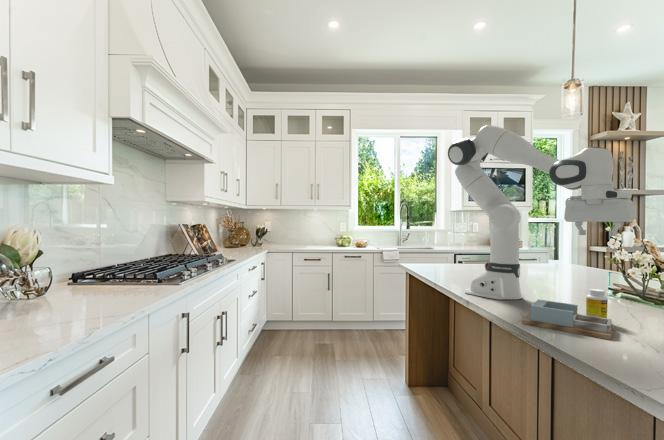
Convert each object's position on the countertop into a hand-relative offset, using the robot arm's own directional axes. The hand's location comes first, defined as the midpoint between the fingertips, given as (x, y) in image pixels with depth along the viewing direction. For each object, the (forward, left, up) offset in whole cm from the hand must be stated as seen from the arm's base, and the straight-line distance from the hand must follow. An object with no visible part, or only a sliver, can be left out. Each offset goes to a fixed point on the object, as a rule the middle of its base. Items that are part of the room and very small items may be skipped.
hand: (597, 235), depth 122 cm
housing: (-9, -19, -26) cm, 34 cm away
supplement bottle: (+1, -6, -28) cm, 29 cm away
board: (-6, -19, -28) cm, 34 cm away
